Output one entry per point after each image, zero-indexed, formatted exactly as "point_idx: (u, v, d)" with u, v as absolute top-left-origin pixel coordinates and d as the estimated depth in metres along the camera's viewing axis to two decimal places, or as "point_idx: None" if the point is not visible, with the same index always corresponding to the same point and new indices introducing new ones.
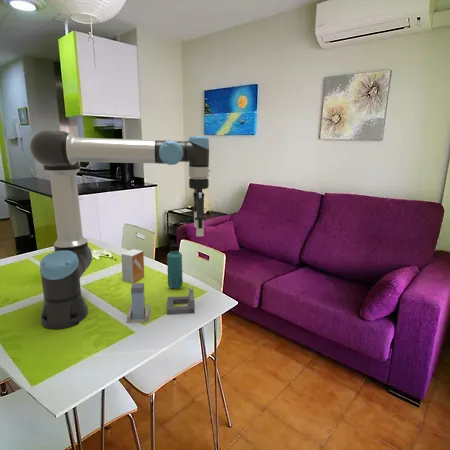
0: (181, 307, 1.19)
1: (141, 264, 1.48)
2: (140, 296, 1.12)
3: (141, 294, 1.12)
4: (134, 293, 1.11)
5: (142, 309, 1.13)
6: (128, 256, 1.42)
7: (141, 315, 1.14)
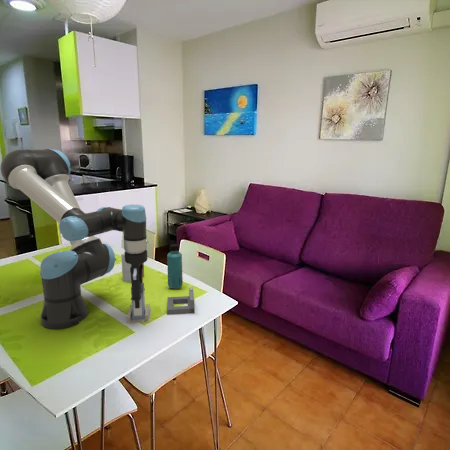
0: (181, 307, 1.19)
1: None
2: None
3: (141, 294, 1.12)
4: None
5: (142, 309, 1.13)
6: None
7: (141, 315, 1.14)
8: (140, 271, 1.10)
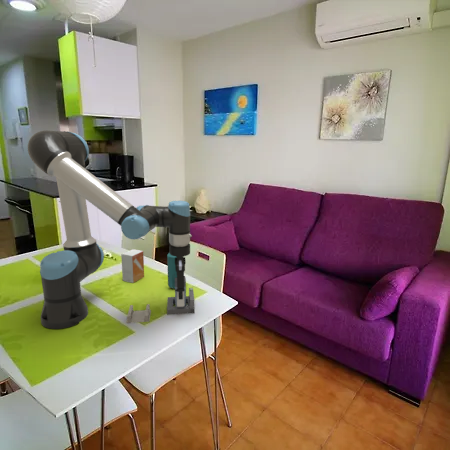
0: (181, 307, 1.19)
1: (141, 264, 1.48)
2: None
3: (184, 287, 1.19)
4: None
5: (184, 302, 1.21)
6: (128, 256, 1.42)
7: None
8: (184, 263, 1.17)
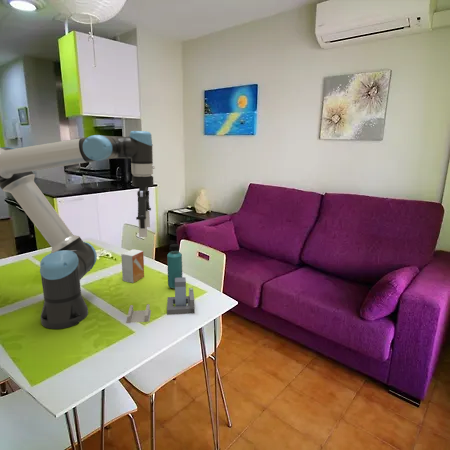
0: (181, 307, 1.19)
1: (141, 264, 1.48)
2: (183, 289, 1.19)
3: (184, 287, 1.19)
4: (177, 286, 1.19)
5: (184, 302, 1.21)
6: (128, 256, 1.42)
7: None
8: (146, 194, 1.16)
